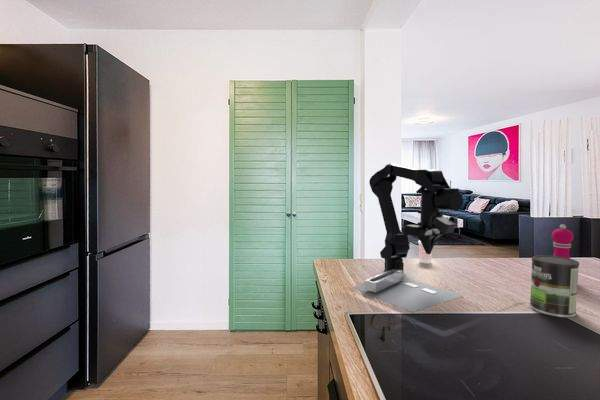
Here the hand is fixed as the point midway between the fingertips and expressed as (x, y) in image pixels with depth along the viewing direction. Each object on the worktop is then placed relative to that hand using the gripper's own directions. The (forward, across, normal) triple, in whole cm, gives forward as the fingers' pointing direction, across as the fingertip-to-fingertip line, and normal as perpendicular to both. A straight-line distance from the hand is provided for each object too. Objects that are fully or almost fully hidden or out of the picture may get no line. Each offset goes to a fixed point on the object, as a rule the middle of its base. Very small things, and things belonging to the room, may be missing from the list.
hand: (428, 254), depth 111 cm
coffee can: (+11, +13, -31) cm, 35 cm away
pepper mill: (+11, +44, -20) cm, 50 cm away
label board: (+11, -12, -2) cm, 17 cm away
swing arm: (+10, -14, +5) cm, 18 cm away
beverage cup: (+12, +26, +22) cm, 36 cm away
